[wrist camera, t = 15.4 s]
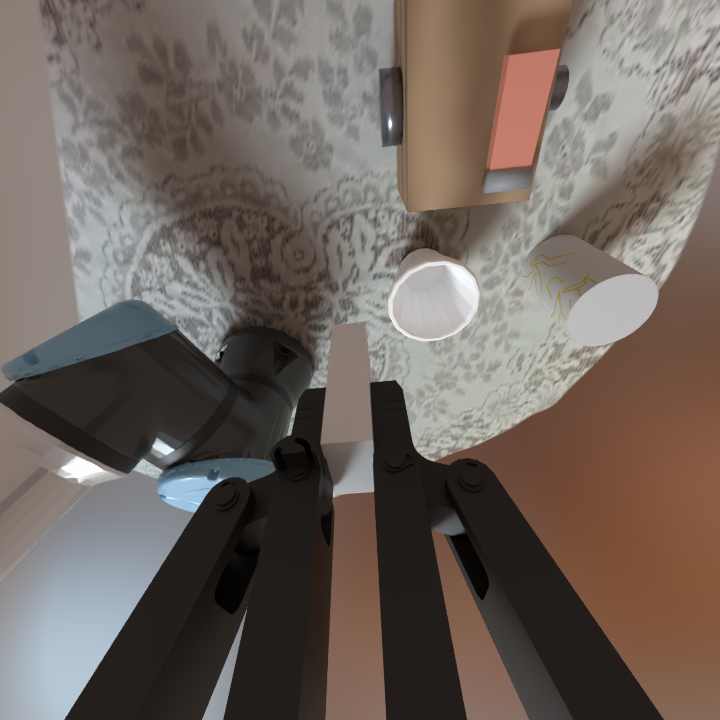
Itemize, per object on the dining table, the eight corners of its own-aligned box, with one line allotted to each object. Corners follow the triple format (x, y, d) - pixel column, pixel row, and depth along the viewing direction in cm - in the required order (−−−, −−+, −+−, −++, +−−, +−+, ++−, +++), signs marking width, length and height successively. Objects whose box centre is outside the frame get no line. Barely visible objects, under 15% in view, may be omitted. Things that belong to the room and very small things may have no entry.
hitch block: (397, 188, 35) (407, 212, 26) (393, 3, 26) (407, -50, 18) (488, 178, 34) (529, 200, 26) (514, -15, 26) (590, -80, 17)
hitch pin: (381, 145, 30) (383, 149, 26) (378, 72, 27) (380, 65, 23) (536, 126, 29) (564, 128, 25) (552, 49, 26) (587, 37, 22)
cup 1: (435, 213, 37) (452, 237, 29) (474, 276, 41) (497, 310, 34) (368, 265, 41) (369, 298, 33) (410, 317, 45) (419, 355, 38)
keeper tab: (481, 189, 25) (486, 196, 24) (502, 55, 20) (511, 55, 19) (521, 185, 25) (529, 191, 24) (554, 48, 20) (566, 48, 18)
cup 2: (532, 234, 38) (587, 273, 29) (599, 234, 38) (677, 274, 28) (512, 295, 43) (553, 345, 34) (571, 295, 43) (629, 346, 33)
